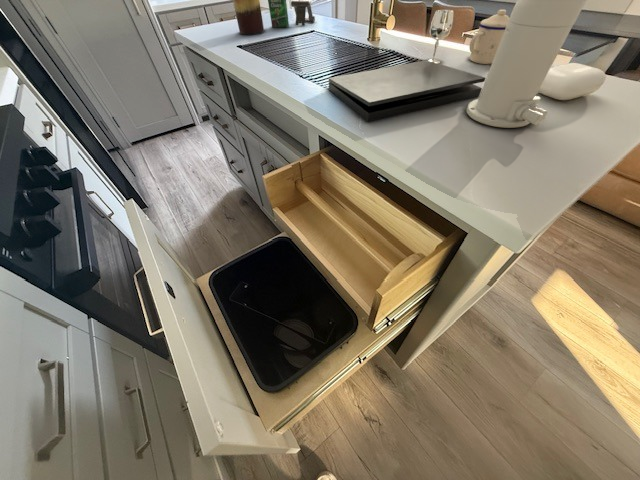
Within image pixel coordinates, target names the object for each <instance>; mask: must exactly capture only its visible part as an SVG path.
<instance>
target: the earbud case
mask: <svg viewBox="0 0 640 480" xmlns="http://www.w3.org/2000/svg"><path fill="white" fill-rule="evenodd" d="M606 79H607V75H606V73H605V72H604V71H603V70H602V69H600V68H597V67H595V66H590V65H587V64H584V63H579V62H568V63H562V64H558V65H555V66H554V65H553V66H551V68H550V70H549V72H548V73H547V75H546V77H545V79H544V81H543V83H542V85H541V87H540V89H539V90H538V92H537V94H538V93H539V94H540V95H543V96H546V97H549V98H552V99H554V100H558V101H569V100H574V99H577V98H581V97H584V96H587V95H591V94H593V93H595V92H596V91H598V90H599V89H600V88H601V87H602V86H603V85H604V83H605V81H606Z"/></svg>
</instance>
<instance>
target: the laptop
mask: <svg viewBox="0 0 640 480" xmlns="http://www.w3.org/2000/svg"><path fill="white" fill-rule="evenodd" d="M482 88H483V87H481V86H478V85H476V84H471V85H466V86H462V87H457V88H452V89H448V90H443V91H439V92H434V93H429V94H425V95H420V96H415V97H411V98H406V99H402V100H397V101H392V102H388V103H383V104H379V105H374V106H367V105H366V104H364V103H363V102H361V101H359V100H358V99H356V98H355V97H353V96H351V95H350V94H348V93H346V92H345V91H343V90H342V89H340V88H338V87H337V86H335V85H334V84H332V83H330V82H329V81H328V90H329V91H330V92H331V93H332V94H334V95H335V96H336V97H337V98H338V99H339V100H341V102H343V103H345V105H347V106H348V107H349V108H350V109H351V110H353V111H354V112H355V113H356V114H358V115H359V116H360V117H361V118H362V119H364V120H365V121H366V122H367V123H369V122H373V121H378V120H382V119H386V118H390V117H394V116H400V115H403V114H409V113H412V112H417V111H421V110H425V109H430V108H434V107H438V106H442V105H446V104H451V103H456V102H460V101H464V100H469V99H472V98H478V97H479V96H480V94H481V91H482Z"/></svg>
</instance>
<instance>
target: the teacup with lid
mask: <svg viewBox="0 0 640 480" xmlns="http://www.w3.org/2000/svg"><path fill="white" fill-rule="evenodd" d="M506 13H507V10H506V9H499V10H497V14H493V15H491V16H490V17H488V18H485V19H482V20H481V21H480V22H479V27H478V31H477V33H475V34H474V35H472V37H471V39H470V42H469V51H470V56H469V60H470V61H471V62H473V63H476V64H480V65H492V62H493V60H494V57H495V54H496V52H497V49H498V47H499V44H500V41H501V39H502V36H503V34H504V31H505V28H506V26H507V23H508V21H509V18H510V16H509V15H507V14H506Z"/></svg>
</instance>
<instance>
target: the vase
mask: <svg viewBox="0 0 640 480" xmlns="http://www.w3.org/2000/svg"><path fill="white" fill-rule="evenodd" d="M232 1H233V7H234V13H235V16H236V22H237V27H238V31H239V34H240V35H244V36H253V35H259V34H262V33H264V32H265V28H264V21H263V15H262V8H261V2H260V0H232Z"/></svg>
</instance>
